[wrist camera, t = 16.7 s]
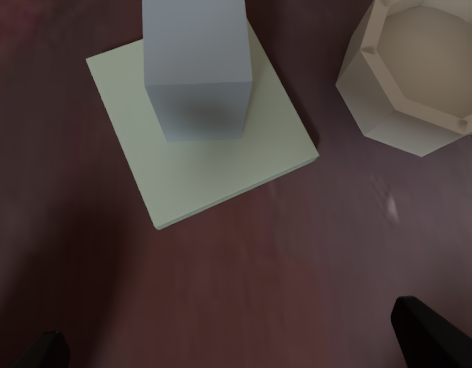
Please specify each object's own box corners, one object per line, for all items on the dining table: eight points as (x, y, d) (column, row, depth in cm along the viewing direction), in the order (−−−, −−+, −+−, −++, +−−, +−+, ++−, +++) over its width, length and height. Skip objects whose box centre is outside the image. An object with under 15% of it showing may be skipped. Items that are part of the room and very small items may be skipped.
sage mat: (313, 161, 25) (319, 155, 23) (158, 229, 23) (155, 227, 21) (238, 18, 27) (239, 4, 25) (93, 70, 25) (85, 59, 24)
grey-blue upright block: (240, 138, 23) (252, 81, 16) (167, 142, 23) (144, 85, 15) (234, 72, 24) (243, -10, 17) (164, 75, 24) (142, -7, 16)
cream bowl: (503, 118, 26) (561, 90, 22) (385, 174, 25) (421, 155, 20) (430, 6, 28) (469, -40, 24) (315, 51, 27) (335, 9, 22)
